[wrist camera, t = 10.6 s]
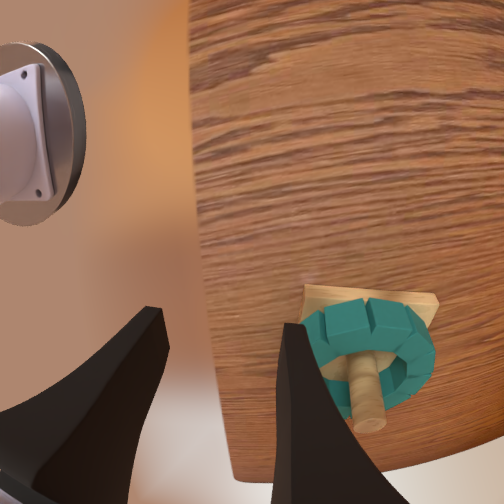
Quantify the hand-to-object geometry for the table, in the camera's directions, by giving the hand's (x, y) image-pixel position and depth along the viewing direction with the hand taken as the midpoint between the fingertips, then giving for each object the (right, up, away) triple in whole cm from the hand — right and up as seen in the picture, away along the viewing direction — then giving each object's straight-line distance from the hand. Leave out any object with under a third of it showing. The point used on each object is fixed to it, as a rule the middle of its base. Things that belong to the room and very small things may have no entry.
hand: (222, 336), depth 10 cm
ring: (+8, -4, +10) cm, 13 cm away
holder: (+8, -3, +11) cm, 14 cm away
